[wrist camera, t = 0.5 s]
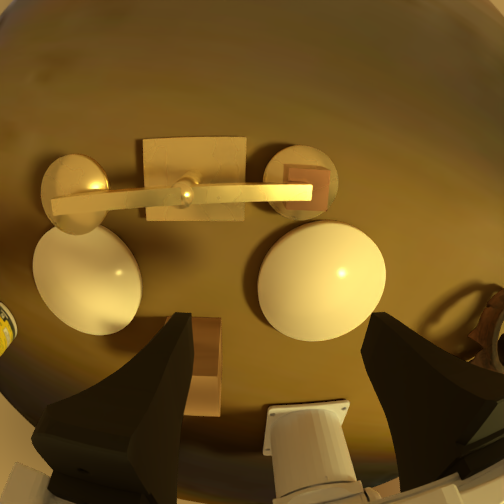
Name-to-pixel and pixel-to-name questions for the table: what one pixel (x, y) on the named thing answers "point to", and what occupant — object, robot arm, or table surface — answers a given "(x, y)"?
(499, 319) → the brown segmented ring
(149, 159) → the balance
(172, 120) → the table surface
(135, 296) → the cream round disc
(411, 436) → the robot arm
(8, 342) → the supplement bottle
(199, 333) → the block
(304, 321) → the dish low side
